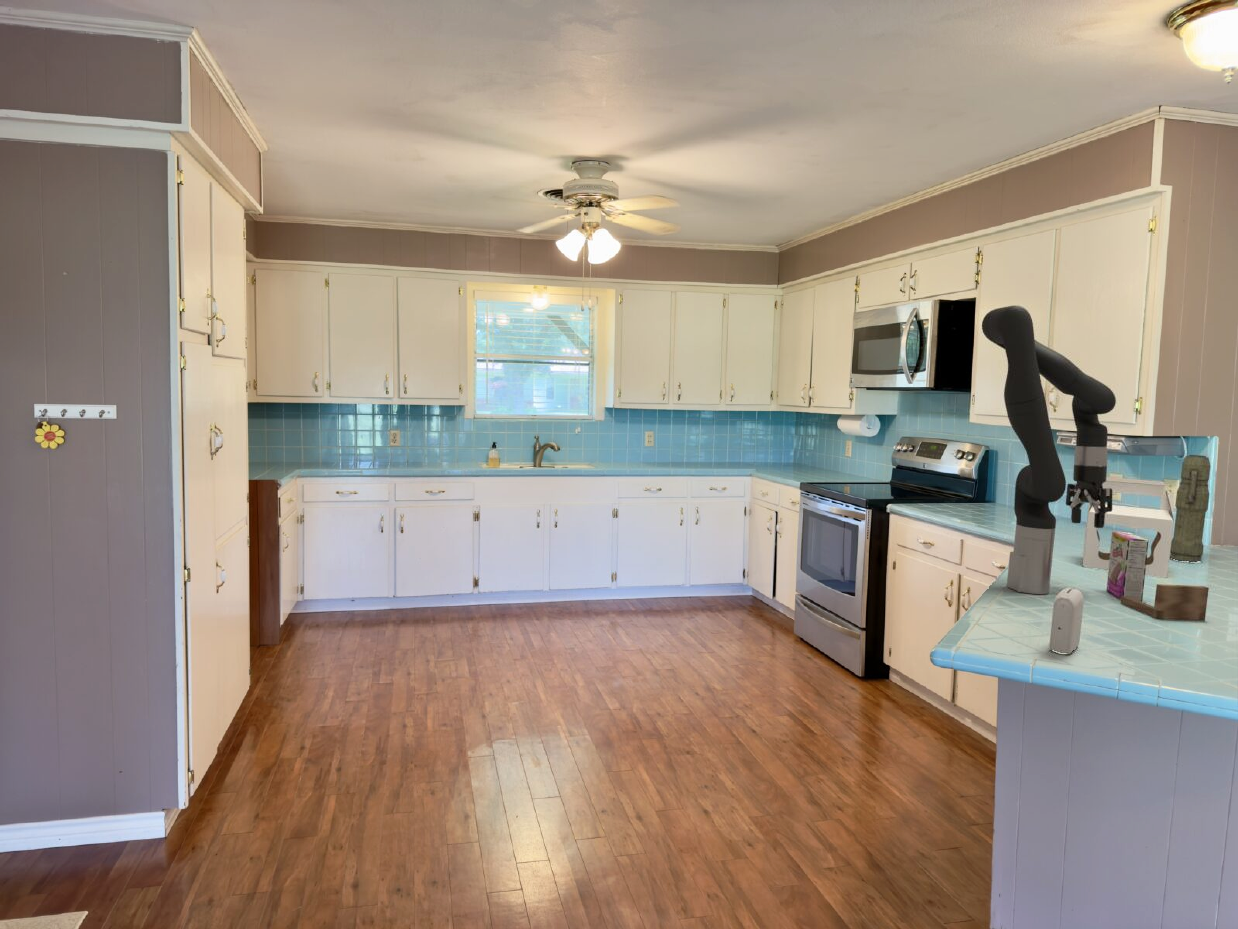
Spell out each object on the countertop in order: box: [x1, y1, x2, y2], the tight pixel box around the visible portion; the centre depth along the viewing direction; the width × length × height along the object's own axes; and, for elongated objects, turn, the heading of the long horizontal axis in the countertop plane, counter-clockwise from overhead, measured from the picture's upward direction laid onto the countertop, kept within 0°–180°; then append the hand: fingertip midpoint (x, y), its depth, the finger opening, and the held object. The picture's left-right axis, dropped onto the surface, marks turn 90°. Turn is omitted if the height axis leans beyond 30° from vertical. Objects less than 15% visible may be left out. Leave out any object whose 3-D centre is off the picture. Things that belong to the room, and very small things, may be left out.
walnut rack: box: [1120, 583, 1210, 622], centre depth 198 cm, size 12×14×8 cm
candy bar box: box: [1106, 531, 1150, 602], centre depth 212 cm, size 11×5×16 cm, turn 168°
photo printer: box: [1048, 587, 1085, 655], centre depth 164 cm, size 10×4×12 cm, turn 140°
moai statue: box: [1169, 454, 1211, 562], centre depth 268 cm, size 9×12×35 cm
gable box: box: [1082, 476, 1175, 579], centre depth 249 cm, size 22×13×28 cm, turn 60°
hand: (1087, 525), depth 213 cm, fingers open, 8 cm apart
